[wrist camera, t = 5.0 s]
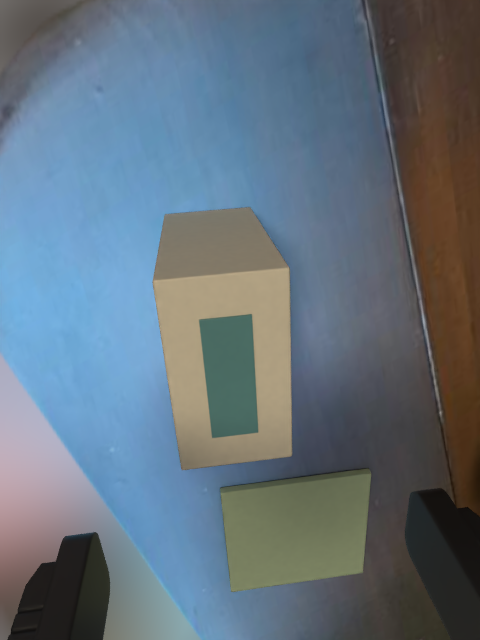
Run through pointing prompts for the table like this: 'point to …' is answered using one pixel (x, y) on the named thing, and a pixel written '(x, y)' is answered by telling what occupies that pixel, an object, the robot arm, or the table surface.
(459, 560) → the robot arm
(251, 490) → the mat
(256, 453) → the tissue box
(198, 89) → the table surface
